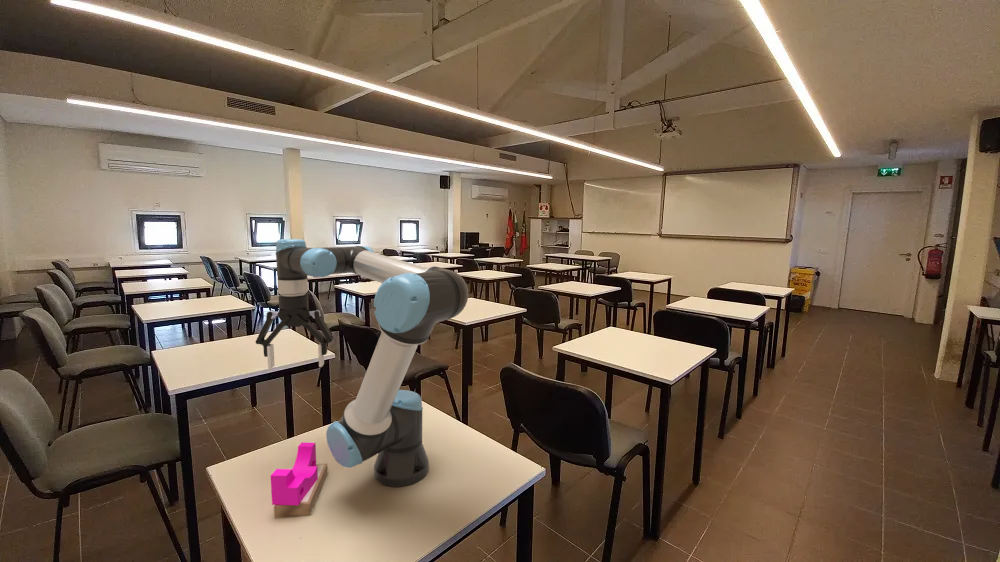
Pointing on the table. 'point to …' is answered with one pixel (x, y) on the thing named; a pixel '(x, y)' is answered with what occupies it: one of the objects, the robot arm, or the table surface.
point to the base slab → (308, 500)
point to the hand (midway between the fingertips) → (296, 366)
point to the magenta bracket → (295, 477)
